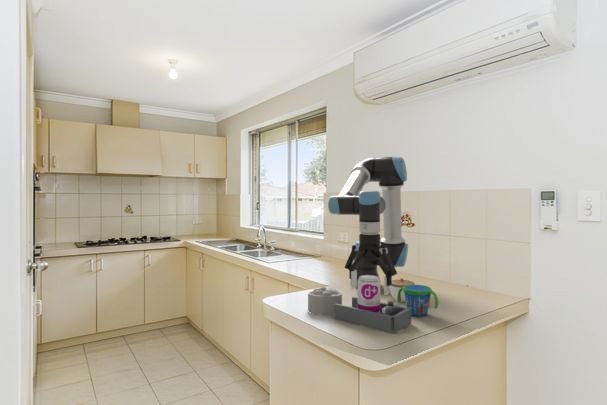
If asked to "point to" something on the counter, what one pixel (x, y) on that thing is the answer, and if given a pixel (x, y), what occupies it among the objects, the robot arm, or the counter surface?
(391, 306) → the pusher
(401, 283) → the lidded jar
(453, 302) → the counter surface
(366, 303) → the supplement can
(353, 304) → the gray storage bin
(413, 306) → the snack cup
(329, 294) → the lumpy-topped squat cylinder
